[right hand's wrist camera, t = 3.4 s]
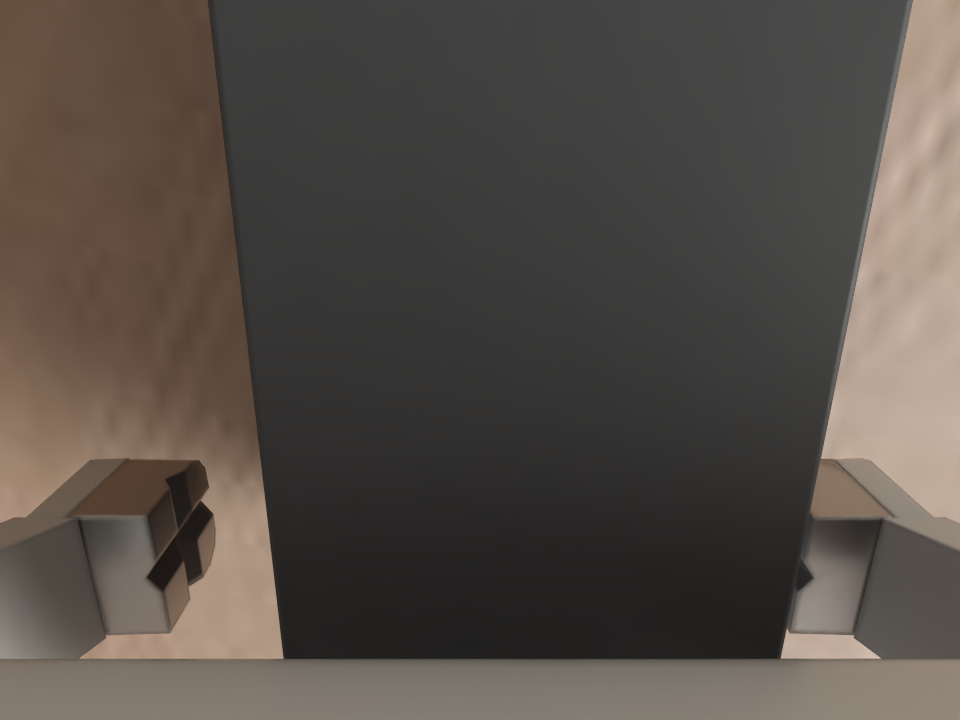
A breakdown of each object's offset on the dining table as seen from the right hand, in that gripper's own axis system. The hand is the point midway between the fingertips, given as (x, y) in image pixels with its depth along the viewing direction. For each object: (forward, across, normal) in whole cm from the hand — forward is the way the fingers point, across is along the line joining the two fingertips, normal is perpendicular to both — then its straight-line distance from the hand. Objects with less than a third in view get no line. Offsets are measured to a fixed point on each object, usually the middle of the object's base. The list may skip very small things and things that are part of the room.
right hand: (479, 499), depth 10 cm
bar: (+5, -1, -9) cm, 11 cm away
